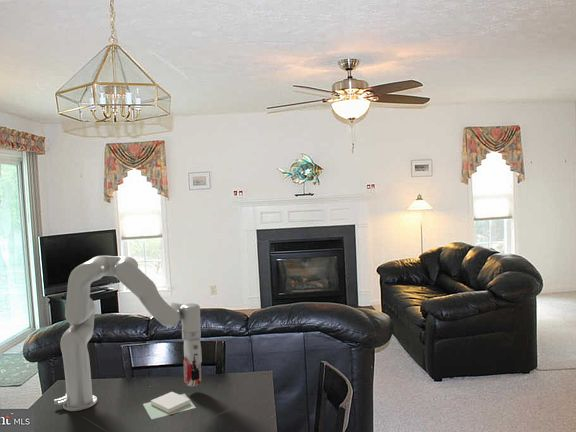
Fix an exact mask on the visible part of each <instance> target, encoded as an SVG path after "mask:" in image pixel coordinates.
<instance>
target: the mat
mask: <svg viewBox="0 0 576 432" xmlns="http://www.w3.org/2000/svg"><path fill="white" fill-rule="evenodd" d="M180 395H181V396H183V397H186V398H188V399H190V398H189V397H188V396H187V394H186V393H182V394H180ZM142 405H143V407H144V409H145V411H146V412H147V414H148V416H149V417H150V419H151V420H155V419H158V418H163V417H166V416H171V415H174V414H177V413H178V414H179V413H181V412H184V411H185V412H187V411H190V410H192V409H196V408H197V407H196V406H195V404H193V402H192V400H190V404H189V405H187V406H185V407H183V408H181V409H178V410H176V411H174V412H172V413H170V414H168V413H166V412H164V411H162V410H160V409H158V408H156V407H154V406H152V405H151V401H149V402H145V403H142Z"/></svg>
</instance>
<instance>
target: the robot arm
mask: <svg viewBox="0 0 576 432" xmlns="http://www.w3.org/2000/svg"><path fill="white" fill-rule="evenodd" d="M103 277H115V278H116V279H117V280H118V281H119V282H120V283H121V284H122V285H124V287H125V288H127V289H128V291H130V292H131V293H132V294H133V295H134V296H135V297H137V299H139V301H140V303H141V304H142V306H144V308H145V309H146V310H147V311H148V313H149V314H150V315H151V316H152V317H153V318H154V319H155V320H156V321H158V322H159V323H160V324H161V325H162V326H164V327H165V328H173V327H177V325H178V324H179V323H180V322H181V338H182V340H183V356H184V358H185V355H186V357H187V358H188V360H189V363H190V364H191V367H192V371H191V380H192V381H193V380H198V379H199V365H200V363H201V364H202V362H203V359H202V358H203V357H202V346H201V345H202V344H201V337H202V335H201V334H202V333H201V332H202V331H201V307H200V305H199V304H198V303H193V302H191V303H177V302H170V303H168V302H166V301H165V299H163V297H162V296H161V294H160V293H159V291H158V288H157V286H156V284H155V283H154V281H153V280H152V279H150V277H149V276H147V274H145V273H144V272H143V271H142V270H141V269H140V268H139V264H138V262H137V261H136V259H135V258H134V257H132V256H119V255H117V256H116V255H114V256H113V255H97V256H94V257H92V258H91V259H89V260H87V261H85V262H83V263H81V264H79V265H77V266H76V267H74V269H72V270H71V272H70V274H69V277H68V281H67V288H66V289H67V290H66V297H65V298H66V299H65V310H64V317H65V320H66V322H67V323H69V327H68V328H67V329H66V330H65V331H64V332H63V333H62V336H61V338H60V343H59V344H60V346H59V347H60V350H61V354H62V355H61V356H62V360H63V370H64V378H65V380H64V381H65V395H64V396H62V397H59V398H55V399H53V402H54V405H58V406H63V407H62V408H63V409H64V410H65V411H67V412H68V411H69V412H78V411H82V410H86V409H89V408H91V407H93V406H94V405H96V404H97V402H98V398H97V396H96V395H94V394H93V387H92V385H93V384H92V372H91V365H90V353H89V350H88V343H89V341H90V340H91V339H92V337H93V334H94V327H95V325H94V324H95V316H96V315H95V314H96V305H95V301H94V300H93V299H92V298H91V297H90V296H91V284H92V283H93V282H95V281H98V280H101V279H102V278H103ZM192 361H195V363H193V362H192ZM199 362H200V363H199ZM194 364H195V366H193V365H194Z"/></svg>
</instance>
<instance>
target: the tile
mask: <svg viewBox="0 0 576 432" xmlns="http://www.w3.org/2000/svg"><path fill="white" fill-rule="evenodd" d="M188 398H189V397H188ZM188 398H186V397H183V396H181V394H179V393H176V392H174V391H170V392H168V393H165V394H163V395H160V396H159V397H156V398H154V399H151V400H150V402H151V405H152V406H154V407H156V408H158V409H160V410H162V411H164V412H166V413H168V414H170V413H172V412H174V411H176V410H178V409H181V408H183V407H185V406H187V405H189V404H190V401H191V399H190V398H189V399H188Z"/></svg>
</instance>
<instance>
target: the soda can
mask: <svg viewBox="0 0 576 432" xmlns="http://www.w3.org/2000/svg"><path fill="white" fill-rule="evenodd" d="M192 362H193V363H195V361H192ZM199 363H200V362H199ZM193 366H195V364H194V365H193ZM191 371H192V367H191V364H190V363H189V360H188V358H187V357H186V355H185V357H184V359H183V382H184V384H185V385H186V386H188V387H197V386H199V384H201V382H202V362H201V363H200V365H199V379H198V380H193V381H192V380H191Z"/></svg>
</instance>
